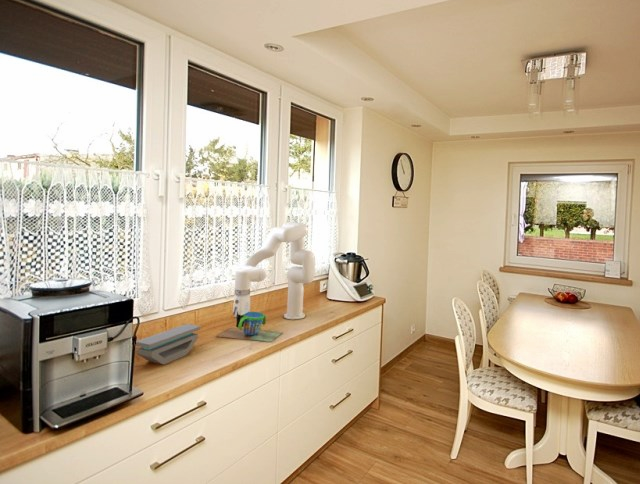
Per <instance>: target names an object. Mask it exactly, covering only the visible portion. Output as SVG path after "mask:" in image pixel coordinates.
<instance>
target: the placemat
mask: <svg viewBox="0 0 640 484" xmlns="http://www.w3.org/2000/svg"><path fill="white" fill-rule="evenodd" d="M243 331H244V330H243V328H242V330H239V328H233V327H230V328H228V329H226V330H224V331H223V332H221V333H219V334H218V335H216V338H222V339H234V340H245V341H246V340H247V341H257V342H267V343H272V342H273V341H275V339H277V338H278V337H279V336H280V335H281V334H282V332H279V331H268V330H259V333H258V334H256V335H246V334H244V332H243Z"/></svg>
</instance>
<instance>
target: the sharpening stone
mask: <svg viewBox="0 0 640 484" xmlns="http://www.w3.org/2000/svg"><path fill="white" fill-rule="evenodd" d="M200 330H201V326H200V325H196V324H195V325H194V324H190V323H186V324H183V325H182V324H181V325H180V326H177V327H174V328H171V329H167V330H165V331H162V332H159V333H156V334H153V335H150V336H147V337H143V338H142V339H138V340H135V341H136V346H135V347H138V348H137V349H136V354H137V355H138V356H140V357H141V358H143V359H145V360H146V361H148V362H150V363H155V364H159V365H163V366H164V365H167V364H169V363H171V362H174V361H176V360H178V359H181V358H182V357H185V356H187V355H188V354H189V353H190V351H191V349H192V348H193V347H194V346H195V343H196V342H197V341H198V339H199V334H198V333H195V332H198V331H200Z"/></svg>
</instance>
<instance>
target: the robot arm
mask: <svg viewBox="0 0 640 484" xmlns="http://www.w3.org/2000/svg"><path fill="white" fill-rule="evenodd" d="M308 233H309V227H308V226H307V224H305V223H303V222H294V221H286V222H284V223H283V224H282V225H281V226H274V227H272V228H271V230H270V231H269V233H268V235H267V236H266V238H265V240H264V242H263V244H262V245H261V246H260V248H259V249H258V250H256V251H255V252H254V253H252V254H251V255H250V256H249V257H248V258H247V260H246V261H245V263H244V264H243V266H242V268H238V269H236V270H235V277H234V279H235V280H234V292H233V293H234V294H233V295H234V298H233V304H232V315H233V317H234V318H233V319H235V320H236V325H235V326H236V328H238V325H239V322H240V320H241V318H242V317H243V315H244V314H246V313H248V312H251V283H254V282H255V283H256V282H257V283H258V282H259V283H260V282H263V281H264V280H266V278H267V271H266V270H265V269H264V268H262V267H259V266H258V265H259V264H260V263H262V261H264V260H267V259H270V258H271V257H273V256H276V254H277V252H278V250H279V248H280V247H281V245H282V244H283V243H290V248H289V249H290V252H289V253H290V254H289V260H290V262H291V263H292V264H293V265H294V266H291V267H289V268H288V270H287V271H286V272H287V273H286V279H287V301H286V302H287V304H286V313H284V314H283V318H284V319H285V320H294V321H295V320H302V319H304V318H305V317H306V314H305V313H304V312H303V311H304V295H305V294H304V293H305V288H304V285H308V284H309V285H310V284H311V283H312V282H314V280H315V275H316V273H315V272H316V257H315V254H314V252H312V251H311V250H306V244H305V243H306V242H305V237H306V236H307V234H308ZM257 266H258V267H257ZM243 323H244V322H243ZM243 323H242V328H243Z"/></svg>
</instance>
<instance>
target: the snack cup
mask: <svg viewBox="0 0 640 484" xmlns="http://www.w3.org/2000/svg"><path fill="white" fill-rule="evenodd" d="M243 322H244V323H243ZM242 323H243V327H242ZM266 323H267V317H266V315H265V314H264V313H263V312H259V311H249V312H248V313H246V314H244V315H243V317H242V318H241V320H240V322H239V325H238V327H237V329H239V330H242V329H243V330H244V331H243V332H244V334H246V335H256V334H258V333H259V331H261V330H260V329H261V326H262V325H263V326H265V325H266Z"/></svg>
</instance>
